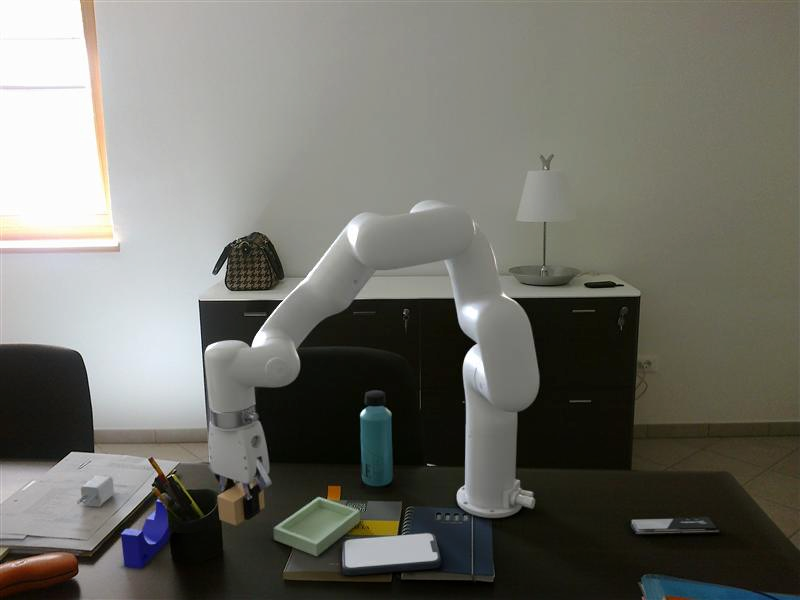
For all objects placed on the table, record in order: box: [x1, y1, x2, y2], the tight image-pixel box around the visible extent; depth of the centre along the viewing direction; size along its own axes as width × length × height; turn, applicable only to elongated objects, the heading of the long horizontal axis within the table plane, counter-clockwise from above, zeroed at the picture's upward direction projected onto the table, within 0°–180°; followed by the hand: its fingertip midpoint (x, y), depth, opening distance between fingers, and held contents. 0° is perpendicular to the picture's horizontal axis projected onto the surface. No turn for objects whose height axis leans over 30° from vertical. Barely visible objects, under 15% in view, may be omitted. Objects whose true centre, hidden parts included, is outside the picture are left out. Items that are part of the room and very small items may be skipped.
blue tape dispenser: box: [120, 498, 171, 569], centre depth 116 cm, size 12×4×6 cm, turn 168°
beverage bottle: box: [359, 389, 394, 487], centre depth 135 cm, size 6×7×20 cm
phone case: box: [341, 532, 442, 577], centre depth 113 cm, size 9×2×16 cm
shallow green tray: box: [273, 496, 361, 557], centre depth 121 cm, size 10×13×2 cm
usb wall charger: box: [76, 475, 115, 507], centre depth 131 cm, size 4×7×4 cm, turn 170°
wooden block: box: [216, 482, 266, 526], centre depth 118 cm, size 4×7×4 cm, turn 148°
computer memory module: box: [629, 516, 721, 536], centre depth 120 cm, size 15×1×4 cm
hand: (242, 511), depth 118 cm, fingers closed on wooden block, 4 cm apart
